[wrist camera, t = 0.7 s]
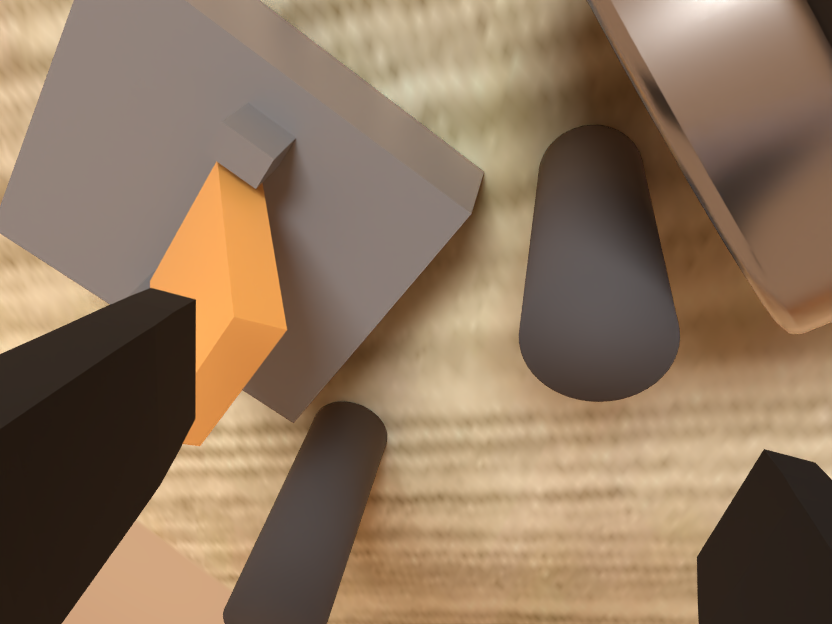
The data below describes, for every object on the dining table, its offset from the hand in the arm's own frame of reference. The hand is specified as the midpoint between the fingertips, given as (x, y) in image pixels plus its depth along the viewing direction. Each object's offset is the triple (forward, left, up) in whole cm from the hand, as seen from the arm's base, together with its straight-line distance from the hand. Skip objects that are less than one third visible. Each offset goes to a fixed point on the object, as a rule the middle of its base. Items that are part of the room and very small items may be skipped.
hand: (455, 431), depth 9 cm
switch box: (+5, +5, -10) cm, 12 cm away
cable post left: (-2, +10, -10) cm, 14 cm away
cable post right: (-2, -1, -10) cm, 10 cm away
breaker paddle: (+5, +5, -7) cm, 9 cm away
